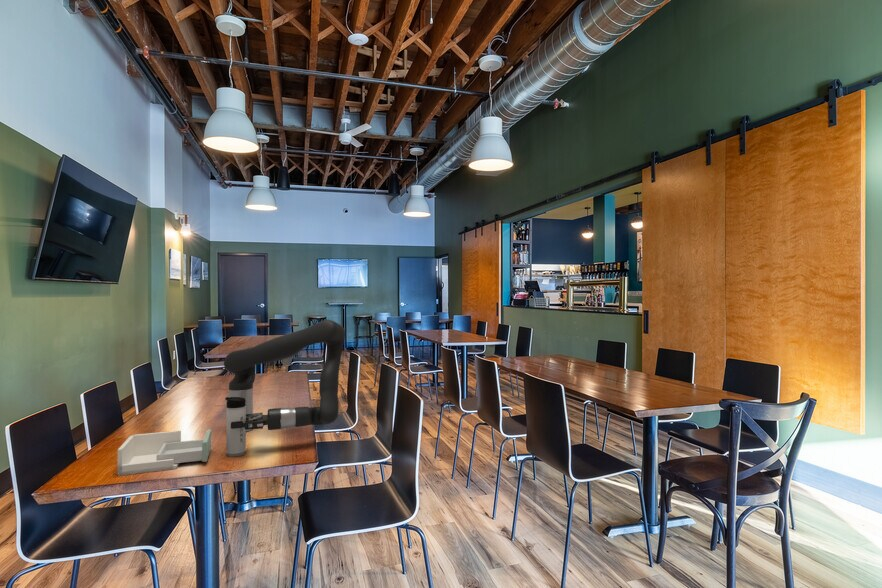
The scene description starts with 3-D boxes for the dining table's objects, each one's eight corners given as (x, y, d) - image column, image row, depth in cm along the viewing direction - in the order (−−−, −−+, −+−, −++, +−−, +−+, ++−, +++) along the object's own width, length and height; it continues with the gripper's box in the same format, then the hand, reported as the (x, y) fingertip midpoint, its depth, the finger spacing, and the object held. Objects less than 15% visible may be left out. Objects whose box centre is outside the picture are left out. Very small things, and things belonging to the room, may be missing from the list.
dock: (183, 452, 166) (184, 430, 166) (176, 468, 150) (176, 443, 150) (130, 458, 160) (131, 435, 160) (117, 475, 144) (117, 449, 144)
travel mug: (225, 452, 166) (225, 396, 166) (246, 450, 168) (246, 394, 168) (224, 458, 160) (224, 399, 160) (245, 455, 162) (245, 398, 162)
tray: (211, 446, 169) (211, 428, 169) (206, 461, 153) (206, 442, 153) (164, 451, 163) (164, 433, 163) (155, 467, 148) (155, 447, 148)
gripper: (280, 403, 176) (232, 407, 170) (282, 412, 163) (230, 417, 157) (280, 423, 176) (231, 428, 170) (282, 434, 163) (230, 439, 157)
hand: (231, 423), depth 164 cm, fingers closed on travel mug, 6 cm apart
